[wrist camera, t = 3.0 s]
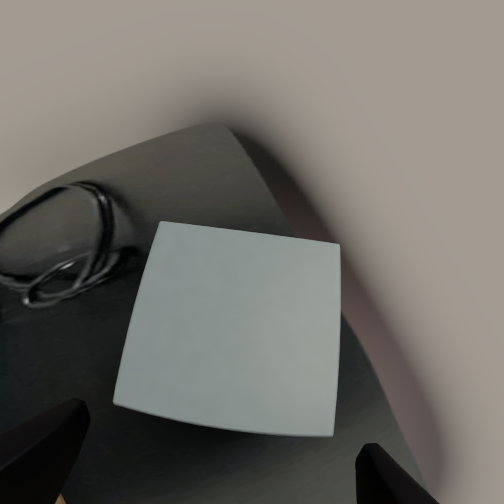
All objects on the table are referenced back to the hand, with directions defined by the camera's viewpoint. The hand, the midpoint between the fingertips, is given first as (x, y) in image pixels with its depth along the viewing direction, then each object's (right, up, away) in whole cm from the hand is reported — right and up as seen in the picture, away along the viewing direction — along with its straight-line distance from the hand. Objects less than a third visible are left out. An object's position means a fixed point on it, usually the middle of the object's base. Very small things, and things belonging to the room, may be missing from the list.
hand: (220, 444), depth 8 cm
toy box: (0, -2, +11) cm, 11 cm away
